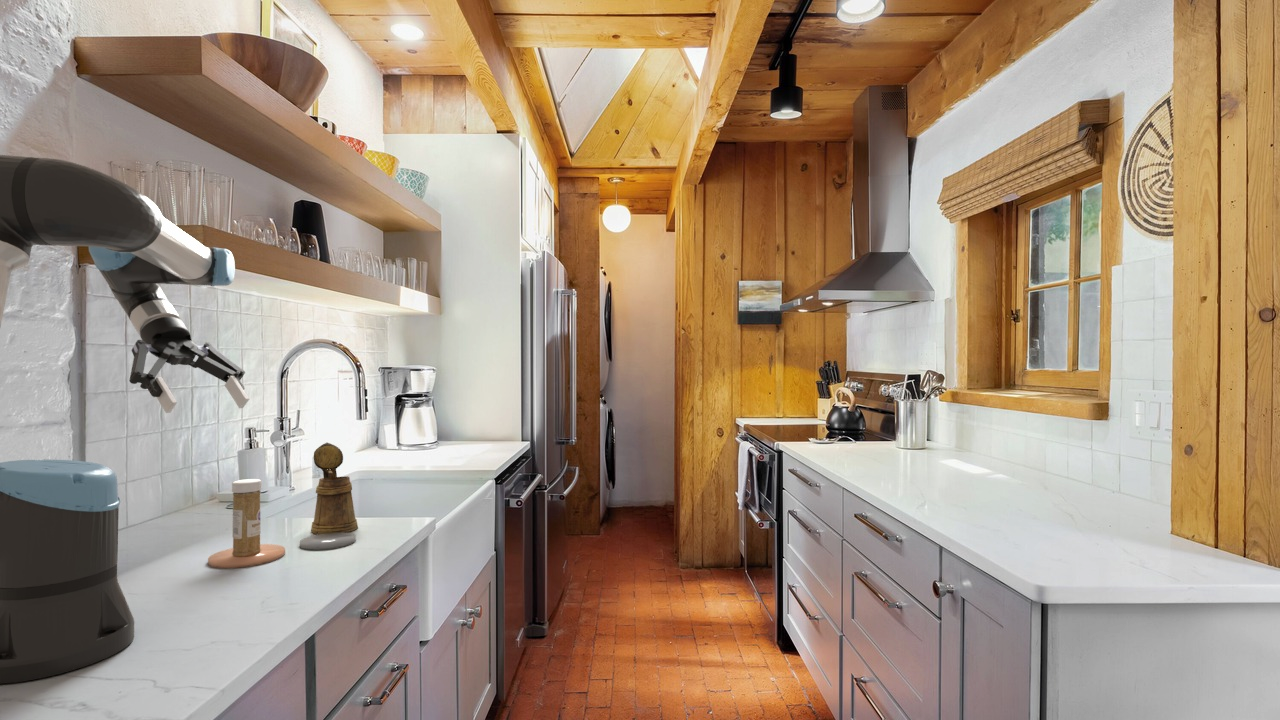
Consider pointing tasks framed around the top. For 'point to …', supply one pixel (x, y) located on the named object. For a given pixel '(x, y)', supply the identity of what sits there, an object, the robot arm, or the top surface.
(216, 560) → the terracotta coaster
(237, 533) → the sprinkles bottle
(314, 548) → the slate coaster
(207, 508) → the top surface
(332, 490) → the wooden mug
